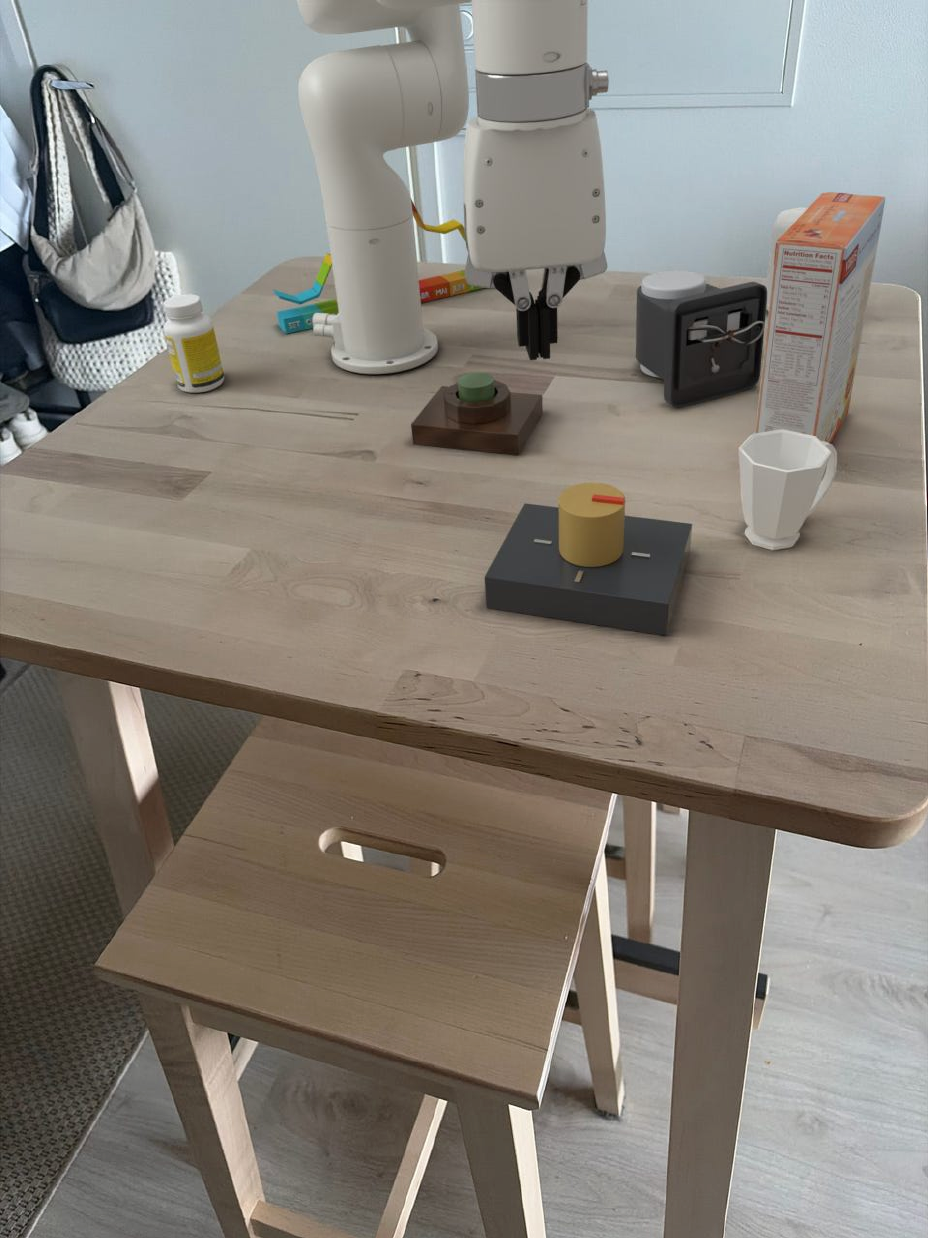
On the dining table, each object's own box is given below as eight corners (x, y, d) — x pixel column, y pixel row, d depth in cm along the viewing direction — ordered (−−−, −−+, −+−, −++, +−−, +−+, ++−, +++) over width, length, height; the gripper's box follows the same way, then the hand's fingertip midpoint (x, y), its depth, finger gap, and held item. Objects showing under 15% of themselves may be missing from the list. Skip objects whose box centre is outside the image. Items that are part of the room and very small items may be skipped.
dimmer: (551, 562, 76) (551, 508, 74) (567, 527, 80) (567, 475, 77) (615, 571, 75) (617, 517, 72) (629, 535, 79) (631, 482, 76)
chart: (286, 334, 125) (264, 210, 116) (279, 326, 127) (256, 203, 118) (502, 284, 134) (497, 165, 125) (491, 277, 136) (486, 160, 127)
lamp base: (412, 444, 100) (408, 407, 97) (443, 404, 106) (440, 369, 104) (518, 455, 96) (516, 417, 94) (542, 414, 103) (542, 377, 101)
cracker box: (788, 405, 101) (820, 188, 88) (849, 415, 98) (891, 194, 86) (744, 467, 92) (773, 235, 79) (810, 481, 89) (851, 243, 76)
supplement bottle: (233, 375, 116) (215, 292, 110) (210, 396, 112) (189, 310, 106) (193, 372, 117) (173, 289, 111) (168, 392, 113) (146, 307, 107)
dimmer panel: (486, 608, 77) (483, 575, 76) (525, 532, 86) (524, 501, 84) (666, 636, 73) (668, 602, 71) (689, 554, 81) (692, 521, 80)
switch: (453, 402, 98) (452, 385, 97) (465, 386, 101) (464, 370, 100) (488, 405, 97) (487, 388, 96) (499, 389, 100) (498, 373, 99)
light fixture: (693, 352, 114) (697, 255, 108) (764, 389, 104) (773, 284, 98) (609, 372, 111) (609, 274, 105) (674, 412, 101) (678, 306, 95)
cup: (710, 532, 84) (719, 446, 79) (793, 493, 88) (806, 409, 83) (774, 569, 79) (788, 481, 74) (858, 526, 83) (877, 439, 78)
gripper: (628, 76, 71) (621, 326, 82) (420, 95, 71) (441, 343, 82) (652, 96, 65) (641, 362, 76) (425, 116, 65) (447, 381, 76)
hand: (537, 352), depth 79 cm, fingers closed
